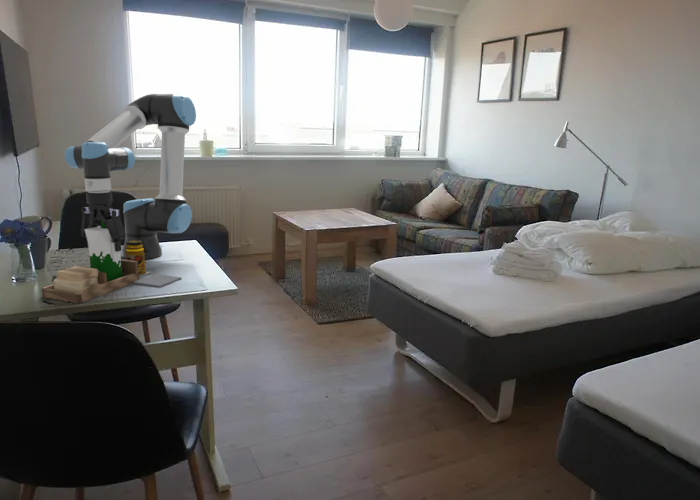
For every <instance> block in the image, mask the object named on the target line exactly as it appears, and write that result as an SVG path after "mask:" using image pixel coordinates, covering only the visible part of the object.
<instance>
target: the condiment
mask: <svg viewBox="0 0 700 500" xmlns="http://www.w3.org/2000/svg"><path fill="white" fill-rule="evenodd" d="M126 244H127V246H126V247H127V249H126V258H125V260H131V261H138V272H139V277H140V276H144V275H147V274H149V273H152V271H147V270H146V269H147V268H146V261H145V260H146V259H145V255H144V248H143V247H142V246H143V245H142V241H141V240H131V241H127V242H126Z"/></svg>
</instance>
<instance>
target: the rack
mask: <svg viewBox="0 0 700 500" xmlns="http://www.w3.org/2000/svg"><path fill="white" fill-rule="evenodd" d="M121 267H122V273H123V277H121V278H118V279H115V280H112V281H109V282H107V275H106V273H102V272H98V276H97V277H98V283H99V284H100V285H97V286H94V287H91V288H88V289H86V290H83V291H80V292H77V293H72V292H65V291H59V290H54V283H52V284H50V285H47V286H43V287H41V294H42V298H46V299H50V300H51V299H52V300H57V299H58V300H57V301H63V300H64V301H63V302H69V301H70V303H74V304H75V303H76V304H80V303H83V302H86V301H89V300H93V299H94V298H97V297H100V296H103V295H106V294H108V293H111V292H115V291H116V290H119V289H121V288H125V287H127V286H130V285H132V284H133V282H134V281H137V280H140V276H139V272H138V261H131V260H126V259H124V258H121Z"/></svg>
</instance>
